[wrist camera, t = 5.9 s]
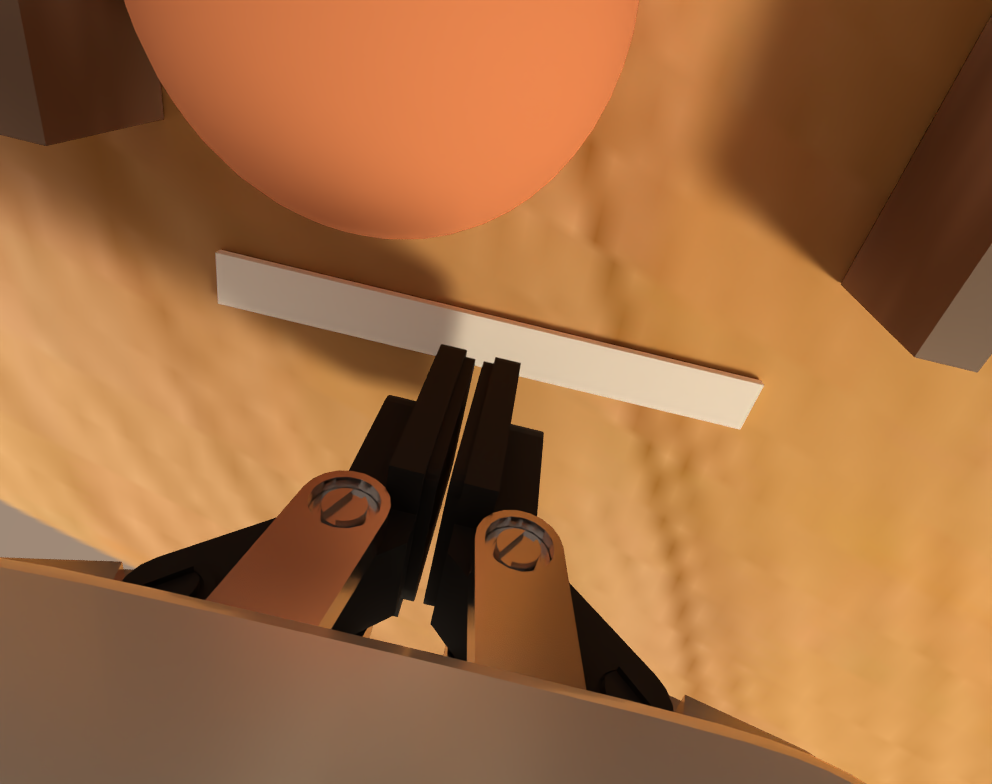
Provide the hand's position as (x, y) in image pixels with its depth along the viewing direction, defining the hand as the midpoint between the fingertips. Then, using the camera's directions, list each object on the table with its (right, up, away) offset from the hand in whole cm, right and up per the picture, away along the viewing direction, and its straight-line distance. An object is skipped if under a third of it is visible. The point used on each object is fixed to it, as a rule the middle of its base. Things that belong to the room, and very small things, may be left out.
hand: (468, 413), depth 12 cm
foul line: (0, +2, +1) cm, 2 cm away
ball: (-1, +5, -5) cm, 7 cm away
